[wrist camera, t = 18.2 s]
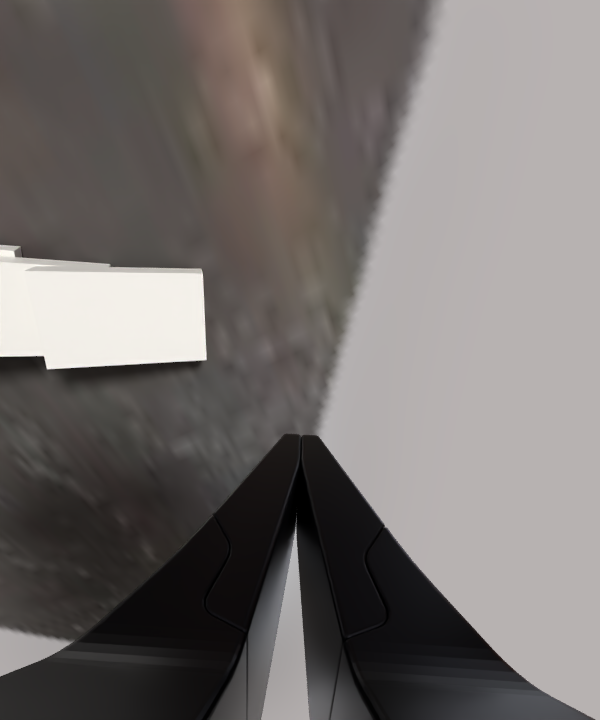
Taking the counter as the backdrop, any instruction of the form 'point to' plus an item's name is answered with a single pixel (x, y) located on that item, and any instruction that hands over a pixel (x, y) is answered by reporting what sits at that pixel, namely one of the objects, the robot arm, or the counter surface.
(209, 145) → the counter surface
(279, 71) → the counter surface
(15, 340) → the domino
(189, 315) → the domino
